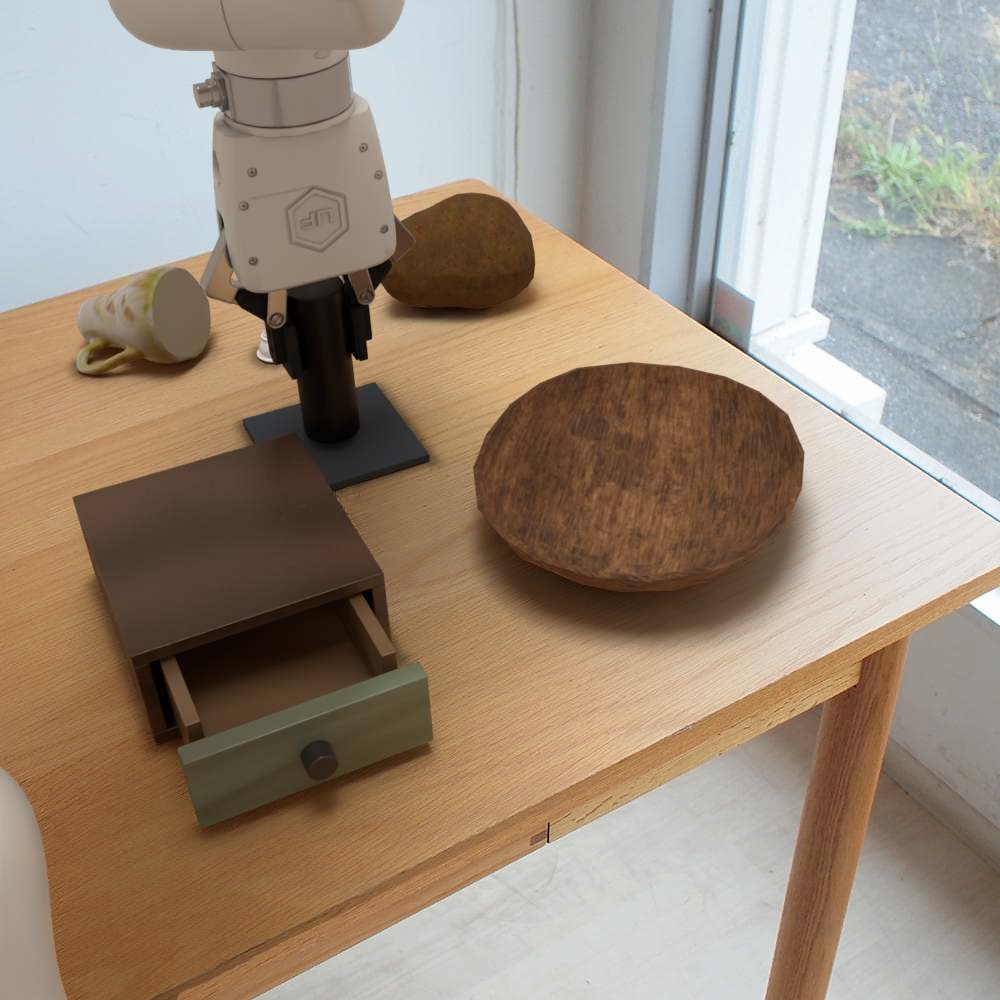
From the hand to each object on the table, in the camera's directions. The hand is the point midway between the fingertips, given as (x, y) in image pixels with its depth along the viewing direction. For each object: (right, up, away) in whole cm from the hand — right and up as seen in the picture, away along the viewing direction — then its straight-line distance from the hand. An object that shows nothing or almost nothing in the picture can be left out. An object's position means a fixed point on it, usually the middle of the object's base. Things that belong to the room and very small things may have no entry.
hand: (323, 357), depth 87 cm
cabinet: (-4, -16, -9) cm, 19 cm away
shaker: (0, -4, +4) cm, 6 cm away
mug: (-16, +2, +14) cm, 21 cm away
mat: (0, -5, +4) cm, 7 cm away
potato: (+9, +7, +20) cm, 22 cm away
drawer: (0, -20, -16) cm, 26 cm away
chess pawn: (-5, +2, +14) cm, 15 cm away
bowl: (+20, -11, -3) cm, 23 cm away
